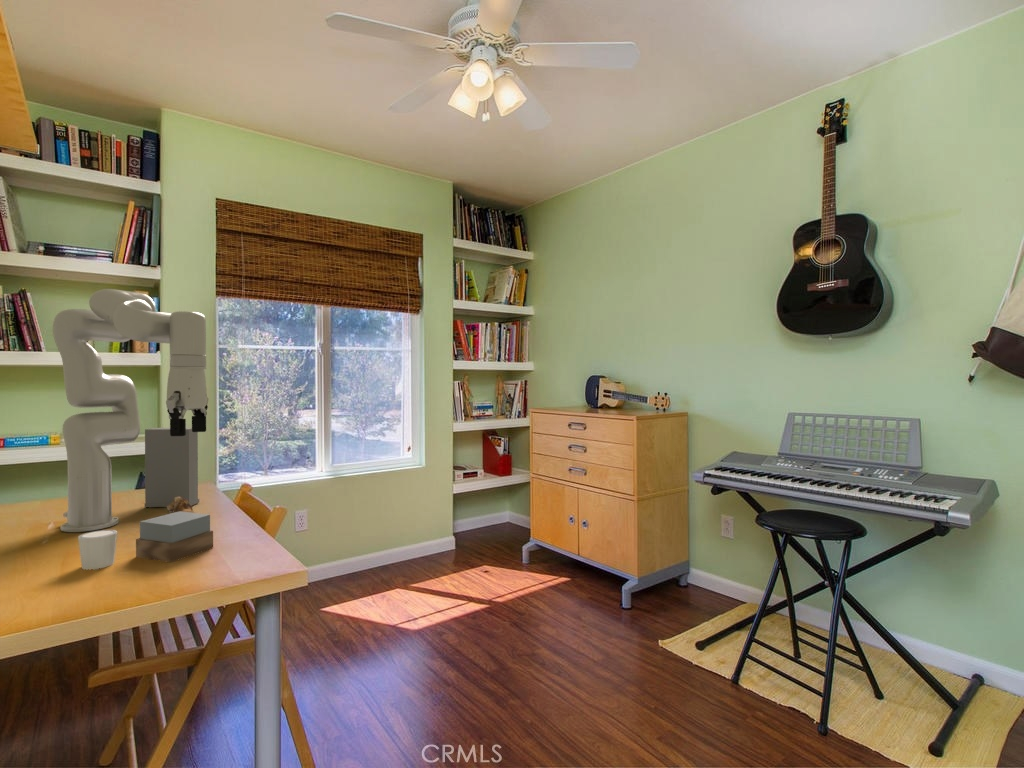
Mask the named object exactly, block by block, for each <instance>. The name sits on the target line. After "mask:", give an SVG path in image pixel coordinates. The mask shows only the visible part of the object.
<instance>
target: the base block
mask: <svg viewBox="0 0 1024 768" xmlns="http://www.w3.org/2000/svg"><path fill="white" fill-rule="evenodd" d="M212 547H213V548H214V530H211V529H210V531H209V532H206V533H202V534H199V535H196V536H193V537H190V538H187V539H184V540H180V541H177V542H174V543H166V542H159V541H152V540H145V539H140V537H139V538H135V557H136V558H140V557H141V558H140V559H146V558H148V559H147V560H152V559H155V560H154V561H158V560H160V561H159V562H165V561H167V563H173V561H174V562H176V560H177V561H179V560H182V559H185V558H187V556H188V557H190V555H191V556H194V555H196V554H199V553H202V552H204V550H205V551H207V549H208V550H210V549H209V548H211V549H213V548H212ZM201 551H202V552H201ZM198 552H199V553H198ZM195 553H196V554H195ZM193 554H194V555H193ZM184 557H185V558H184ZM181 558H182V559H181ZM178 559H179V560H178Z"/></svg>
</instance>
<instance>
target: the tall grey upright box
mask: <svg viewBox="0 0 1024 768" xmlns="http://www.w3.org/2000/svg"><path fill="white" fill-rule="evenodd" d="M198 434H199V432H192V427H186V435H185V436H171V435H170V427H152V428H146V429H144V455H145V456H144V478H145V479H144V480H145V481H144V482H145V483H144V490H145V491H144V493H145V494H144V495H145V497H144V498H145V499H144V500H145V501H144V502H145V503H144V508H146V507H149V508H167V506H168V505H170V504H171V503H172V502H173V501H174V498H176V497H182V498H185V499H186V500H187V501H188V502H189V504H190V505H191V506H194V505H197V504H200V498H199V479H198V478H199V474H198V473H199V469H198V468H199V467H198V466H199V463H198V462H199V460H198V459H199V457H198V456H199V453H198V451H199V447H198V446H199V445H198V443H199V442H198V441H199V440H198V439H199V438H198V437H199V436H198Z"/></svg>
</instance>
